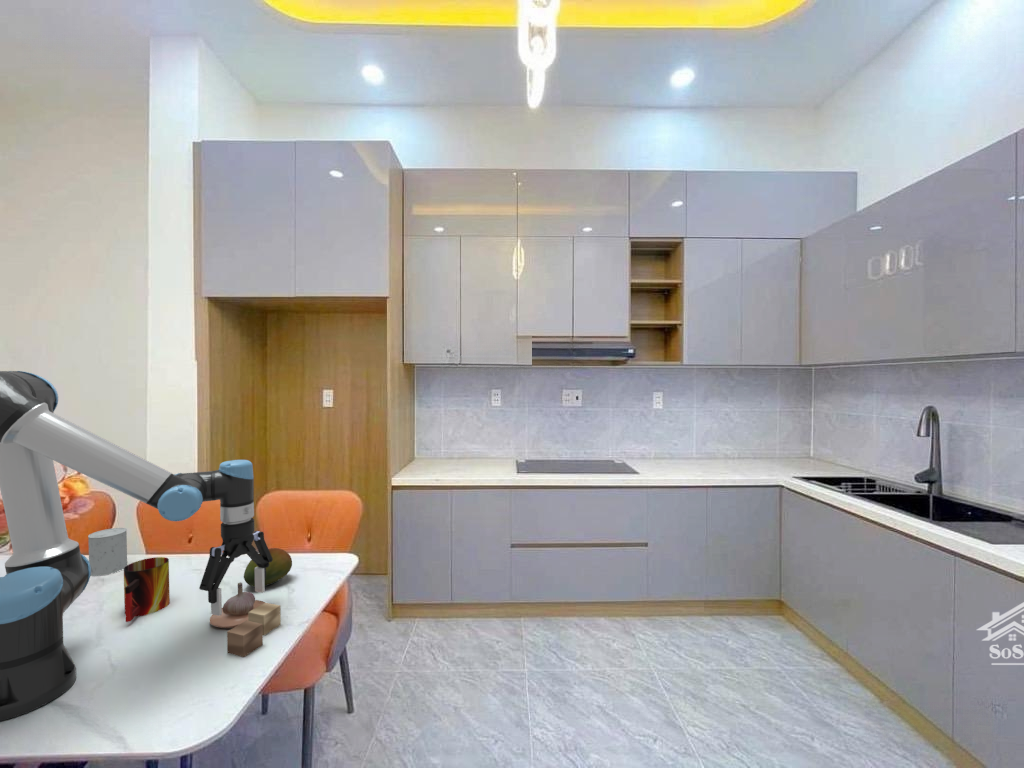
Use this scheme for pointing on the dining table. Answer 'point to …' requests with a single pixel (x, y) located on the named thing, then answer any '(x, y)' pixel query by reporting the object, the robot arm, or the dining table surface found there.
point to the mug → (146, 587)
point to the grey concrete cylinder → (107, 551)
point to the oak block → (266, 616)
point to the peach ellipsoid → (231, 618)
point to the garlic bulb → (239, 603)
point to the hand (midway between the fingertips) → (239, 602)
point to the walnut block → (244, 638)
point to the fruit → (270, 567)
